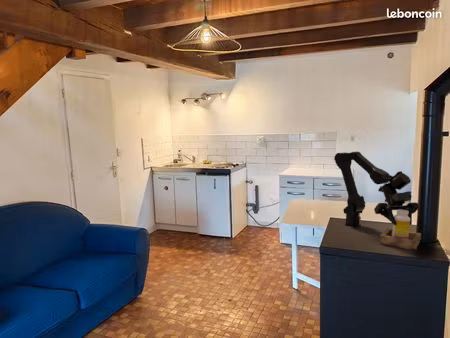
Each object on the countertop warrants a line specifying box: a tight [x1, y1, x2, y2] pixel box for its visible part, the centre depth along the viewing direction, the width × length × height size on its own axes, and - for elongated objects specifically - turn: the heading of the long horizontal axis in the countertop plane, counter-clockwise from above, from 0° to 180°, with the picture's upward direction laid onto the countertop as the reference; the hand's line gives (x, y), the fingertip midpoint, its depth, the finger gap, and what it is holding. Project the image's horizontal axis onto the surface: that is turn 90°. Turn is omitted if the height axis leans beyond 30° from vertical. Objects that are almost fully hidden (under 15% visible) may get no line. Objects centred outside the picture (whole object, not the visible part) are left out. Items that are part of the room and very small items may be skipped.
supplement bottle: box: [391, 209, 411, 239], centre depth 156 cm, size 7×7×13 cm
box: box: [380, 228, 422, 251], centre depth 156 cm, size 14×14×4 cm
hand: (403, 224), depth 154 cm, fingers closed on supplement bottle, 6 cm apart
